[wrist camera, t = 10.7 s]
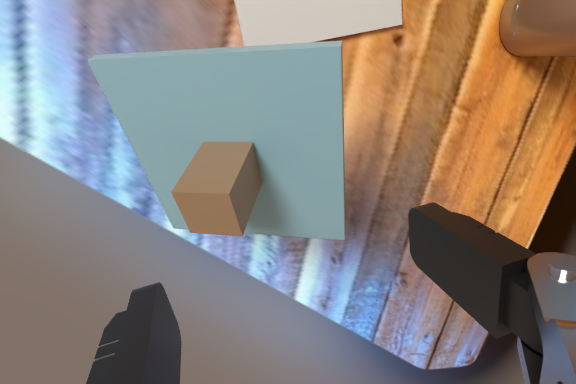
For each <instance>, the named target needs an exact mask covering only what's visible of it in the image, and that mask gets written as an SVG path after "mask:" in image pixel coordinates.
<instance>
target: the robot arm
mask: <svg viewBox="0 0 576 384" xmlns="http://www.w3.org/2000/svg"><path fill="white" fill-rule="evenodd" d="M499 27H500V36H501V40H502V43H503V45H504V47H505V48H506V49H507V50H508V51H509V52H510V53H511V54H513V55H516V56H521V57H533V56H576V0H506V1H505V3H504V5H503V9H502V12H501V16H500V23H499ZM409 241H410V253H411V256H412V259H413V261H414V262H415V264H416V265H417V267H418V268H419V269H421V270H422V271H423V272H424V273H425V274H426V275H427V276H428V277H429V278H430V279H431V280H433V281H434V282H435V283H436V284H437V285H438V286H439V287H440V288H441V289H442V290H443V291H444V292H446V293H447V294H448V295H449V296H450V297H451V298H452V299H453V300H454V301H455V302H456V303H458V304H459V305H460V306H461V307H462V308H463V309H464V310H465V311H466V312H467V313H468V314H470V315H471V316H472V317H473V318H474V319H475V320H476V321H477V322H478V323H479V324H480V325H482V326H483V327H484V328H485V329H486V330H487V331H488V332H489V333H490V334H491V335H492V336H494V337H495V338H499V337H502V336H504V335H507V334H509V333H512V332H513V333H514V334H515V335H516V336H518V342H517V347H518V352H519V357H520V362H521V367H522V371H523V376H524V381H525V384H576V257H575V256H572V255H568V254H562V253H551V252H548V253H540V254H535V253H533V252H531V251H529V250H528V249H526V248H524V247H523V246H521V245H519V244H517V243H515V242H514V241H512V240H510V239H508V238H507V237H505V236H503V235H501V234H500V233H498V232H497V233H495V231H494V230H492V229H491V228H489V227H487V226H484V225H483V224H482V223H480V222H478V221H476V220H475V219H473V218H471V217H469V216H465V215H462V214H458V213H455V212H450V211H448V210H447V209H445V208H443V207H442V206H440V205H438V204H436V203H434V202H432V203H428V204H425V205H422V206H418V207H415V208H412V209H410V211H409ZM180 362H181V335H180V330H179V326H178V322H177V320H176V317H175V315H174V312H173V310H172V307H171V305H170V302H169V300H168V297H167V295H166V292H165V290H164V288H163V286H162V284H161V283H155V284H152V285H148V286H145V287H142V288H139V289H135V290H133V291H132V293H131V296H130V300H129V303H128V307H127V310H126V311H123V312H120V313H117V314H116V315H115V316H114V317H113V319H112V320H111V321H110V322H109V324H108V325H107V326H106V328H105V329H104V331H103V335H102V338H101V341H100V344H99V348H98V350H97V353H96V356H95V362H93V365H92V368H91V371H90V374H89V377H88V380H87V383H86V384H180V364H181V363H180Z"/></svg>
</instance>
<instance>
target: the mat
mask: <svg viewBox="0 0 576 384" xmlns="http://www.w3.org/2000/svg"><path fill="white" fill-rule="evenodd" d="M234 2H235V7H236V11H237V16H238V21H239V26H240V30H241V35H242V40H243V45H244V46H259V45H276V44H293V43H310V42H316V41H321V40H326V39H331V38H336V37H341V36H346V35H351V34H356V33H361V32H367V31H372V30H377V29H382V28H387V27H392V26H397V25H402V7H401V0H234Z"/></svg>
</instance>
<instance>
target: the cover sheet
mask: <svg viewBox="0 0 576 384" xmlns="http://www.w3.org/2000/svg"><path fill="white" fill-rule="evenodd" d="M87 61H88V63H89V65H90V67H91V69H92V71H93V73H94V75H95V77H96V79H97V81H98V82H99V84H100V86H101V88H102V90H103V92H104V94H105V96H106V98H107V100H108V102H109V104H110V106H111V108H112V110H113V112H114V114H115V115H116V117H117V119H118V121H119V123H120V125H121V127H122V129H123V131H124V133H125V135H126V137H127V139H128V141H129V143H130V145H131V147H132V148H133V150H134V152H135V154H136V156H137V158H138V160H139V162H140V164H141V166H142V168H143V170H144V172H145V174H146V176H147V178H148V180H149V181H150V183H151V185H152V187H153V189H154V191H155V193H156V195H157V197H158V199H159V201H160V203H161V205H162V207H163V209H164V211H165V213H166V215H167V216H168V218H169V220H170V222H171V224H172V226H173V228H177V229H189V231H190V233H203V234H217V235H231V236H243V234H244V233H249V234H263V235H277V236H292V237H306V238H321V239H335V240H345V178H344V118H343V59H342V41H327V42H310V43H293V44H276V45H259V46H242V47H224V48H207V49H190V50H173V51H156V52H139V53H122V54H105V55H94V56H93V57H91V58H90V59H88V60H87Z"/></svg>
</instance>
